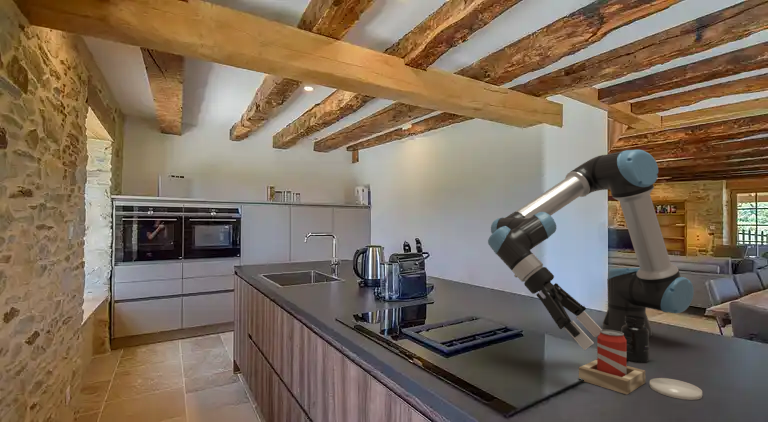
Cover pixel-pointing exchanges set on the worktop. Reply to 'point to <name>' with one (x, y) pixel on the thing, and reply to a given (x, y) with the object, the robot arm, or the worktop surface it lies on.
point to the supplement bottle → (636, 338)
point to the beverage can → (612, 352)
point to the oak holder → (612, 378)
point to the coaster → (676, 388)
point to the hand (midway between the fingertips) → (594, 340)
